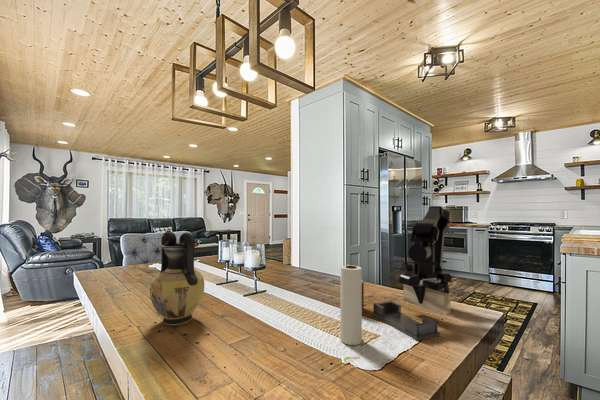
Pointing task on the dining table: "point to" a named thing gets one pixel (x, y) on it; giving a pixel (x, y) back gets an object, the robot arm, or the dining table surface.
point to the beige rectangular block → (429, 300)
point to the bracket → (405, 321)
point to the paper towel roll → (351, 304)
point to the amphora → (177, 280)
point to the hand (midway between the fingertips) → (425, 302)
